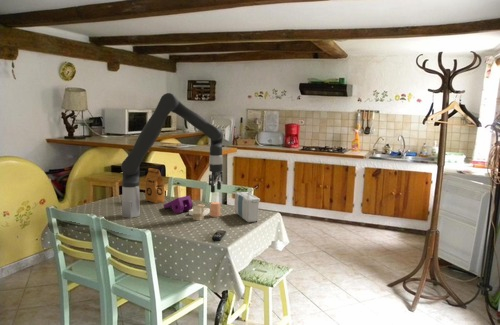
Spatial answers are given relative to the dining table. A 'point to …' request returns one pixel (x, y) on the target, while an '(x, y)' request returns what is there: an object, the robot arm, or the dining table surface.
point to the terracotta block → (215, 209)
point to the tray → (206, 211)
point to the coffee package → (154, 186)
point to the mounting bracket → (180, 204)
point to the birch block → (198, 212)
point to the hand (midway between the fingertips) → (215, 190)
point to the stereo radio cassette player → (247, 206)
